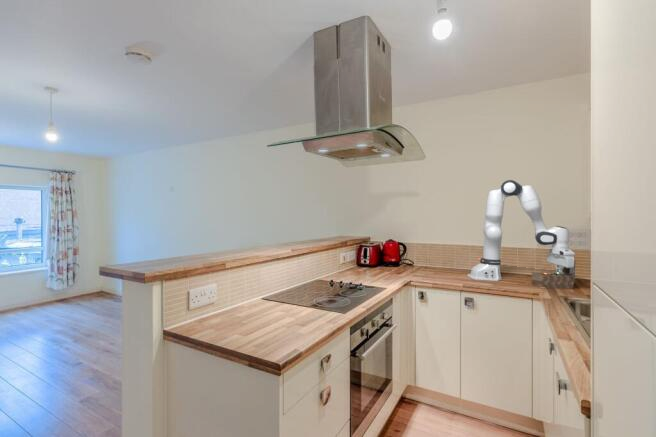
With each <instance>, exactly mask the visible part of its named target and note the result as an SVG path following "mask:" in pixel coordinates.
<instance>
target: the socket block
mask: <svg viewBox="0 0 656 437" xmlns="http://www.w3.org/2000/svg"><path fill="white" fill-rule="evenodd" d="M551 273H552V275H543V274H541V272H534V271H533V272H531V285H532V284H534V285H533V286H535V285H537V286H539V287H545V288H544V289H550V290H551V289H560V290H573V289H574V284H573V282H574V283H575V278H574V277H573V276H570V275H567V274H563V275H555V273H553V272H551ZM537 286H536V287H537ZM539 287H538V288H539Z"/></svg>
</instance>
